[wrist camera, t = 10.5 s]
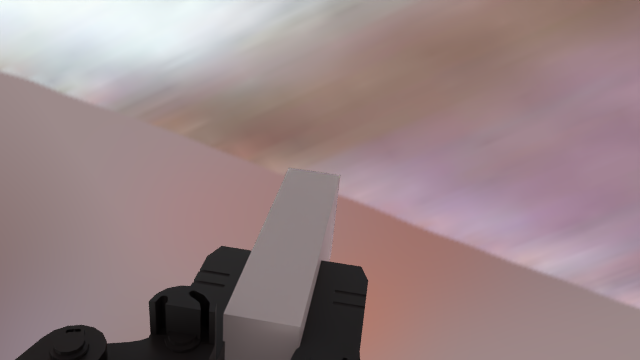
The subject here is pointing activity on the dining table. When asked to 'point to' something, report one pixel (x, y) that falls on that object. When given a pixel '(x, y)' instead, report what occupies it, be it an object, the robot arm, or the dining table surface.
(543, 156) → the dining table surface
